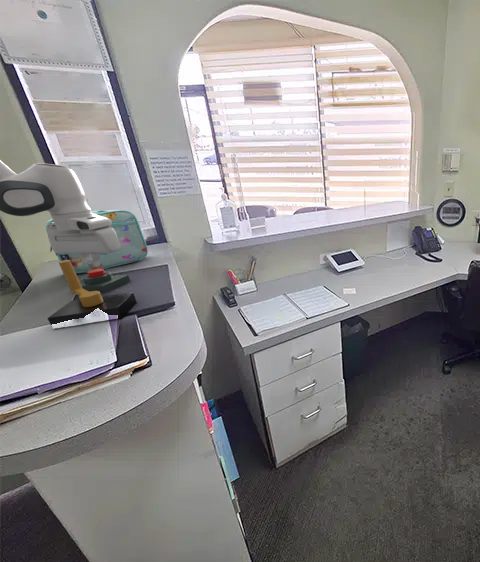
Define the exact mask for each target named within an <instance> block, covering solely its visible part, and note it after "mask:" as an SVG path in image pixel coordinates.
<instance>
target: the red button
mask: <svg viewBox="0 0 480 562" xmlns="http://www.w3.org/2000/svg"><path fill="white" fill-rule="evenodd" d="M105 271H106V270H105V269H95V270H91V271H88V272H86V273H87V275H88V276H89V278H92V277H98V276H102V275H105Z"/></svg>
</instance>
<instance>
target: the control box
mask: <svg viewBox="0 0 480 562" xmlns="http://www.w3.org/2000/svg"><path fill="white" fill-rule="evenodd" d="M104 271H105V275H102V276H98V277H92V278H89V276H88V274H86V275H84V276H83V277H82V280H79V282H80V284H81V286H82V289H85V290H87V291H89V292H91V291H99V292H100V293H107V292H110V291H112V290H115V289H117V288H118V287H121V286H123V285H126V284H128V283H130V282H131V278H130V276H129V274H113V272H112V271H110V270H104ZM129 281H130V282H129ZM127 282H128V283H127ZM67 286H68V288H69V290H70V292H71V293H72V291H71V289H70V287H69V285H68V284H67Z"/></svg>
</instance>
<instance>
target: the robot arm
mask: <svg viewBox="0 0 480 562" xmlns="http://www.w3.org/2000/svg"><path fill="white" fill-rule="evenodd" d="M0 212H2V213H4V214H7V215H10V216H15V217H31V216H34V215H36V214H39V213H43V212H48V213H49V214H50V216H51V219H53V221H54V223H49V225H48V227H47V230H48V233H47V238H48V241H49V244H50V246H51V247H52V251H53V252H54V254H55V253H58V254H66V253H78V255H79V257H80V258H81V259H82V260H83V261H84V262H85V263H86V265H87V267H98V266H100V262H99V258H100V253H113V252H116V251H119V250H120V243H119V240H118V237H117V235H116V233H115V231H114V229H113V228H111V227H109V226H111V225H112V222H111V220H110V219H109V218H106V217H102V216H99V215H97V214H94V213H92V208H91V207H90V206H89V204H88V202H87V198H86V193H85V190H84V188H83V185H82V184H81V181H80V179H79V178H78V176H77V174H76V172H75V171H74V170H73V169H72V168H70V167H68V166H66V165H62V164H53V163H42V162H36V163H33V164H32V165H31V166H29V167H28V168H27V169H25V170H24V171H23V170H22V172H19V173H17V172H15V171H14V170H13V169H11V167H10V166H8V165H7V164H6V163H5V162H4V161H2V160H1V159H0ZM90 257H91V258H90Z"/></svg>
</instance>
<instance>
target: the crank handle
mask: <svg viewBox="0 0 480 562" xmlns="http://www.w3.org/2000/svg"><path fill="white" fill-rule="evenodd" d="M58 265H59V267H60V269H61V271H62V273H63V276H64V278H65V280H66V283H67V286H68V285H69V286H68V288H69V287H70V288H69V290H70V289H71V290H70V292H71V291H72V292H71V293H72V295H77V296H78V298H79V300H81V303H82V305H83V307H92V306H96V305H99V304H101V303H102V302H103V299H102V294H101V292H99V291H91V292H89V291H87V290H85V289H82V286H81V284H80V282H79V281H80V280H79V277H78V275H77V273H75V270H74V268H73V266H72V264H71V261H70V260H64V261H60V260H59V261H58Z"/></svg>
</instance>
